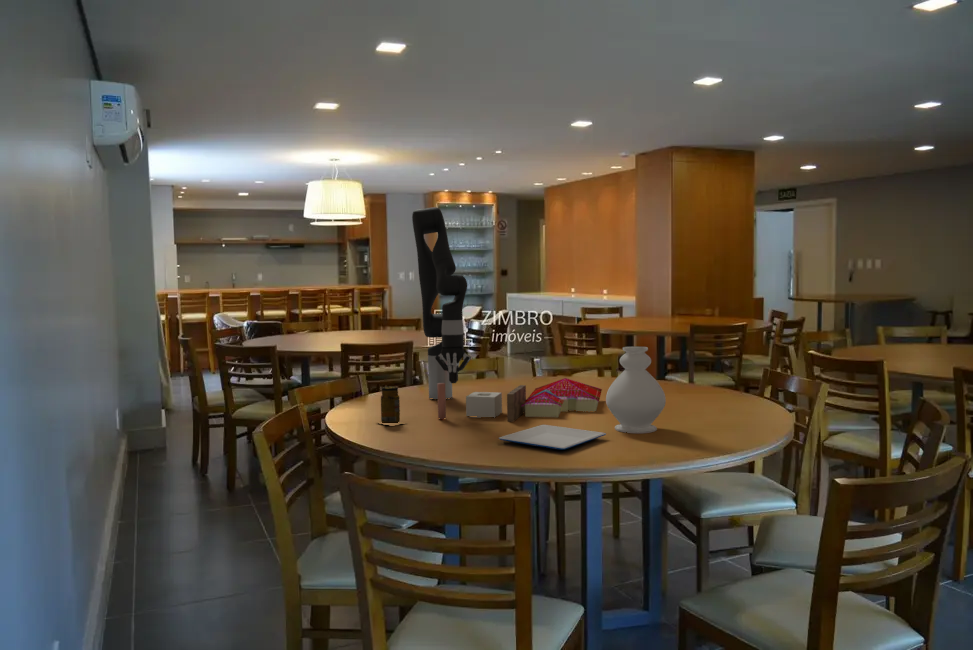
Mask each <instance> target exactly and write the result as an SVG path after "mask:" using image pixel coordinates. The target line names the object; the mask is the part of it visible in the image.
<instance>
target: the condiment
mask: <svg viewBox="0 0 973 650" xmlns="http://www.w3.org/2000/svg"><path fill="white" fill-rule="evenodd" d="M400 401H401V400H400V395H399V388H398V386H393V385H391V386H382V387H381V396H380V418H381V419H380V421H381V422H382V423H398V422H401V421H400V417H401V413H400V412H401V408H400V407H401V406H400Z"/></svg>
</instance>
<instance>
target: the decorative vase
mask: <svg viewBox="0 0 973 650" xmlns="http://www.w3.org/2000/svg"><path fill="white" fill-rule="evenodd" d="M622 351H623V352H625V353H624V354H622V355H621V357H620V358H619V364H620V366H622V368H623V369H624V370H623V371H622V372H621V373H620V374H619V375H618V376H617V377H616V378H615V379H614V380H613V381H612V383H611V384H610V386H609V388H608V389H607V393H606V396H605V402H606V406H607V408H608V409H609V411H610V413H611V414H612V415H613V417H614V418H615V419H616V420H617V421H618V422H619V424H616V425H615V426H614V430H615V431H617V432H621V433H626V432H627V433H626V434H650V433H654V432H656V431H657V430H658V429H657V426H656V425H653V422H654V421H655V420H656V419H657V418H658V417H659V415H660V414H661V413H662V411H663V410H664V408H665V406H666V399H667V398H666V395H665V391H664V389H663V388H662V386H661V385H660V384H659V383H660V382H659V381H657V379H655V377H654V376H652V374H651V373H650V372H649V371H648V370H647V369H648V368H649V367H650V366H651V363H652V358H651V357H650V355H648V354H647V353H646V352H648V351H649V348H648V347H647V346H623V347H622Z"/></svg>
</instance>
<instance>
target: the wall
mask: <svg viewBox="0 0 973 650" xmlns="http://www.w3.org/2000/svg"><path fill="white" fill-rule="evenodd" d="M526 388H527V384H524V385H523V384H520V385H518V386H516V387H515V388H514V389H512V390H510V391H509V392H508V393H506V406H507V407H506V409H507V411H506V415H507V417H506V419H507V422H510V423H511V422H514V421H516V420H517V419H518V418H519V417H520V416H521V415H523V414H525V405H523V403H524V402H525V401H526V400H527V389H526ZM522 405H523V406H522Z"/></svg>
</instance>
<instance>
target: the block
mask: <svg viewBox="0 0 973 650" xmlns="http://www.w3.org/2000/svg"><path fill="white" fill-rule="evenodd" d="M502 396H503V392H497V391H496V392H493V391H491V392H489V391H473V392H472V393H470V394H469V395H466V396H465V407H466V408H465V409H466V411H465V412H466V414H465V415H466V416H477V417H476V418H481V417H494V418H493V419H495V417H496V416H497V417H498V416H500V415H501V414H502V413H503V397H502ZM500 413H501V414H500ZM466 416H465V417H466ZM497 417H496V418H497Z"/></svg>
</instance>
